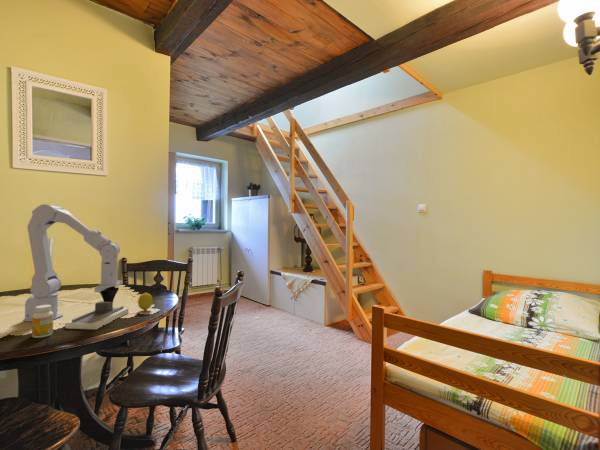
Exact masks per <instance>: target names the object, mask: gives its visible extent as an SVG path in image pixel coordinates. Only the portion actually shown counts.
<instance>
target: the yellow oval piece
mask: <svg viewBox="0 0 600 450" xmlns="http://www.w3.org/2000/svg"><path fill="white" fill-rule="evenodd" d="M137 303H138V304H137V305H138V308H140V309H141V310H143V311H144V312H146V311H147V310H149V309H150V308H151V307H152V305H153V296H152V295H151V294H150V293H149V292H144V293H142V294H140V295H139V297H138V301H137Z"/></svg>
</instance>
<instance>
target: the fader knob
mask: <svg viewBox="0 0 600 450" xmlns="http://www.w3.org/2000/svg"><path fill="white" fill-rule="evenodd" d="M113 303H114V301H113V302H106V301H102V300H100V301H97V302H95V303H94V305H95V306H94V310H95V313H98V314H105V313H107V312H110V311H112V310H113V308H114V306H113V305H114V304H113Z"/></svg>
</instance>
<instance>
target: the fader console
mask: <svg viewBox="0 0 600 450" xmlns="http://www.w3.org/2000/svg"><path fill="white" fill-rule="evenodd" d="M128 314H129V307H128V308H127V307H124V305H121V306H119V307H113V310H112V311H110V312H107V313H105V314H98V313H95V309H94V310H91V311H89V312H86V313H84V314H82V315H80V316H77V317H75V318H72V319H70V320H69V321H66V322H65V329H70V330H72V329H74V330H75V329H76V330H98V329H99V328H102V327H103V325H104V326H105V325H108V324H109V323H111V322H113V320H114V321H116V320H117V318H118V319H119V317H120V318H121V317H124V316H125V315H128ZM115 319H116V320H115Z"/></svg>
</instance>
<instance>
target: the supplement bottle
mask: <svg viewBox="0 0 600 450" xmlns="http://www.w3.org/2000/svg"><path fill="white" fill-rule="evenodd" d="M50 310H51V305H40V306H37V307H36V308H35V311H36V313H35V314H33V316H32V321H31V327H32V328H31V337H32V338H36V339H38V338H39V339H41V338H46V337H49V336H51V335H53V333H54V319H53V312H52V311H50Z"/></svg>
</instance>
